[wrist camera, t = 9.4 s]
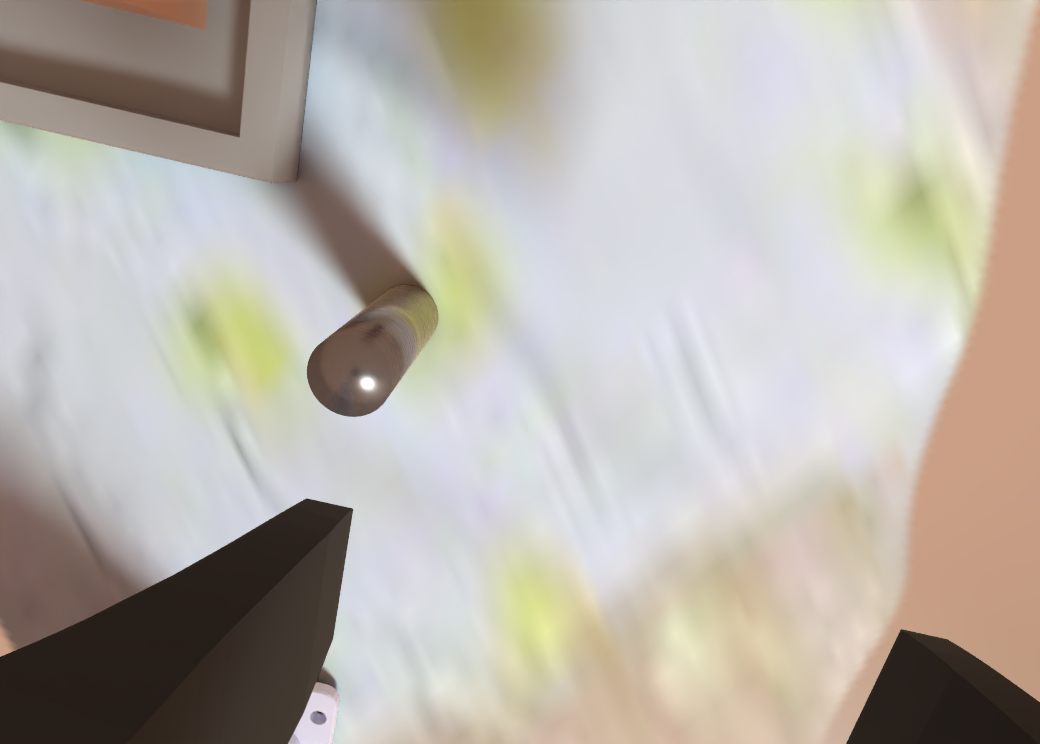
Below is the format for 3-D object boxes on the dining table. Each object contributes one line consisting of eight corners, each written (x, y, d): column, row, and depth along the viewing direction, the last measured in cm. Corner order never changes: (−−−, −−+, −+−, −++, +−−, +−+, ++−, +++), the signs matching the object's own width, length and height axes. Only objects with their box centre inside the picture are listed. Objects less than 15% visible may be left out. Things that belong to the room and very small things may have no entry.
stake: (432, 351, 18) (385, 424, 13) (371, 338, 18) (302, 405, 13) (443, 292, 17) (397, 346, 12) (381, 278, 17) (312, 326, 12)
